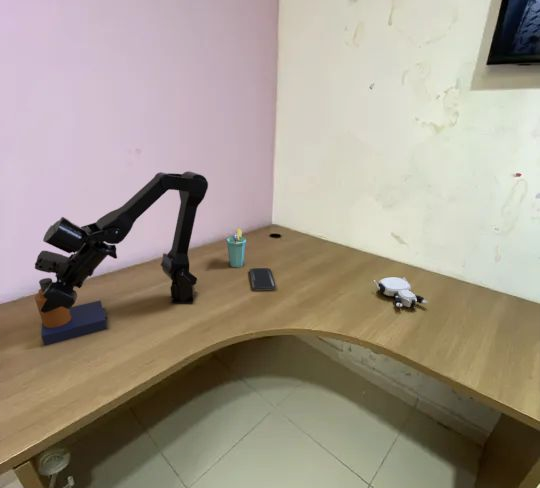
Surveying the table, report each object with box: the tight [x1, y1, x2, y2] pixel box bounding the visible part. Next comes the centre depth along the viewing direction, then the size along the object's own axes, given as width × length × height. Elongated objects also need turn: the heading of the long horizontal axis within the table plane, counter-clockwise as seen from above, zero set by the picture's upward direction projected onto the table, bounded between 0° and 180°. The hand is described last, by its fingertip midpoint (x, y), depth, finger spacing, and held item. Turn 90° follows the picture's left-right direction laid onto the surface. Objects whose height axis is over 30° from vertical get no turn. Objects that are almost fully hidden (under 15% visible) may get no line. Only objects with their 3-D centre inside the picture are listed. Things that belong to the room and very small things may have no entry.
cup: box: [225, 227, 247, 268], centre depth 119 cm, size 14×8×15 cm, turn 1°
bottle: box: [34, 277, 71, 328], centre depth 78 cm, size 6×6×12 cm
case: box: [41, 300, 108, 346], centre depth 84 cm, size 15×11×3 cm
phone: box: [249, 267, 276, 292], centre depth 112 cm, size 8×1×15 cm
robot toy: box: [373, 276, 429, 308], centre depth 104 cm, size 12×4×15 cm
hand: (46, 304), depth 78 cm, fingers closed on bottle, 6 cm apart
